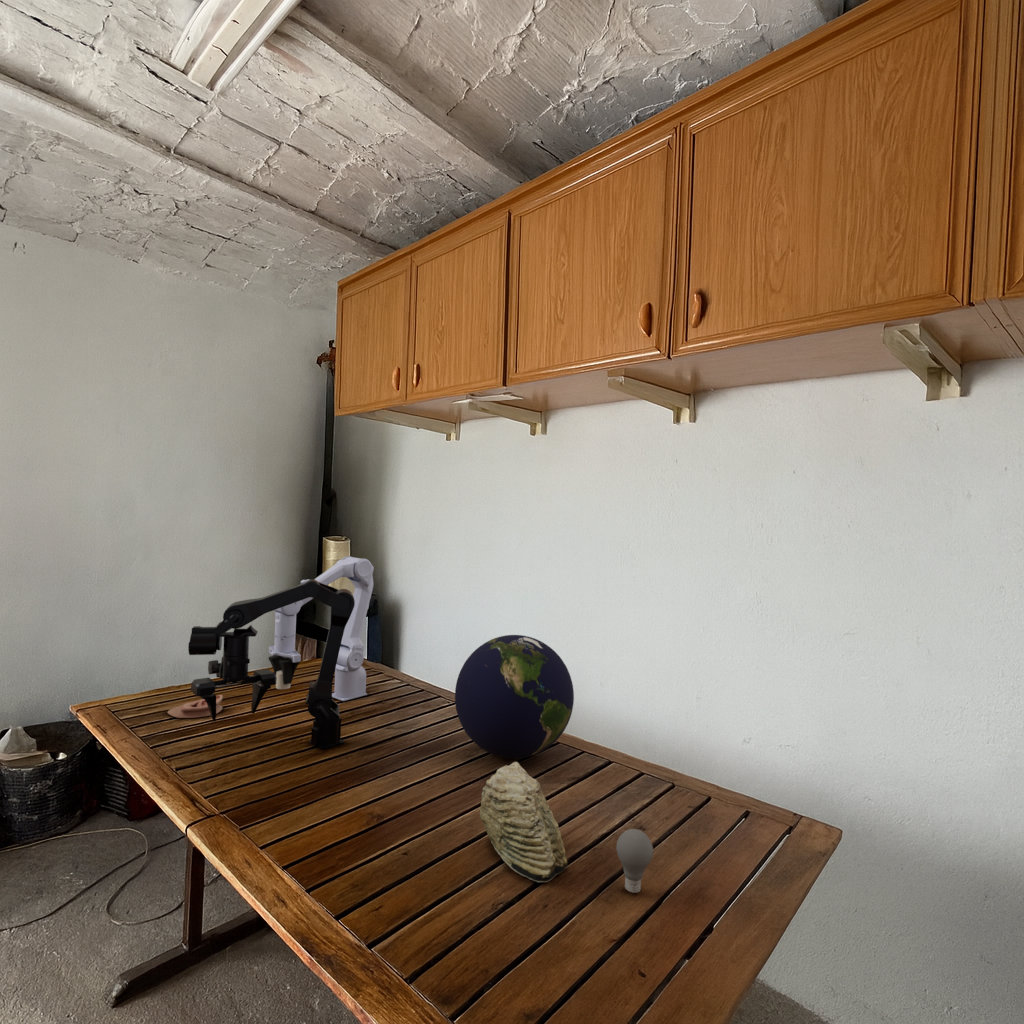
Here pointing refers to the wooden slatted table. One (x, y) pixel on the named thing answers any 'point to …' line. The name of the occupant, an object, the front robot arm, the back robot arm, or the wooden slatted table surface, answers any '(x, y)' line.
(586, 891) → the wooden slatted table surface
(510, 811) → the fossil
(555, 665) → the globe
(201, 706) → the anatomical model
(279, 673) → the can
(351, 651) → the back robot arm
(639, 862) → the light bulb
